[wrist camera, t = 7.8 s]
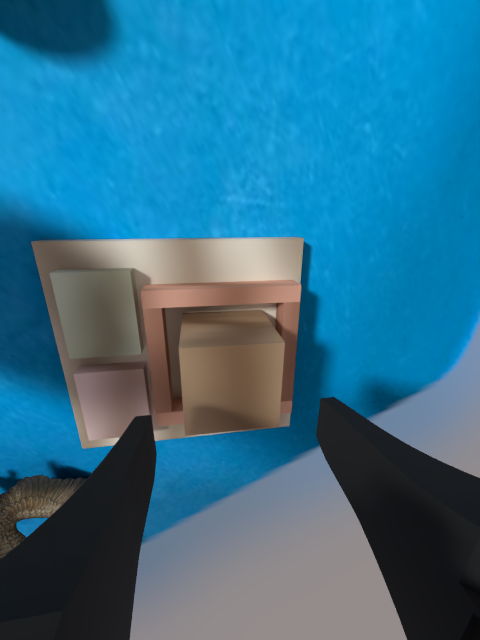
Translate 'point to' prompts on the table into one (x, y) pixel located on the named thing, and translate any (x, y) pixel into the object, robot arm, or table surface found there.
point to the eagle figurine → (31, 505)
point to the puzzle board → (156, 319)
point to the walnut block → (230, 371)
